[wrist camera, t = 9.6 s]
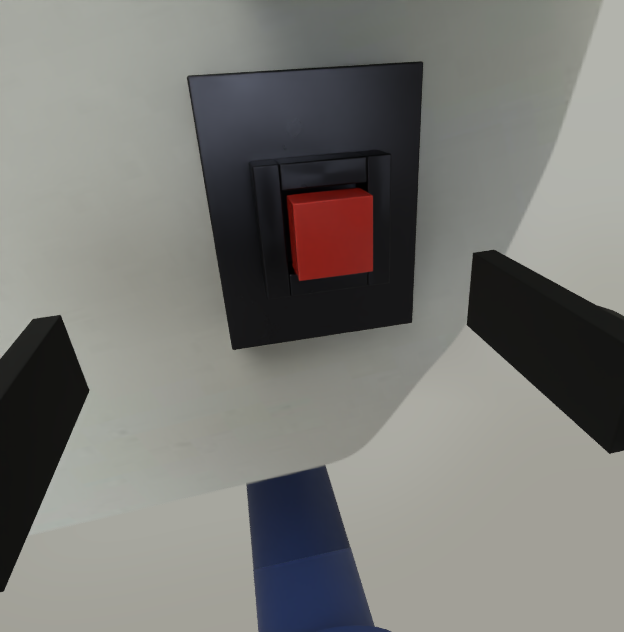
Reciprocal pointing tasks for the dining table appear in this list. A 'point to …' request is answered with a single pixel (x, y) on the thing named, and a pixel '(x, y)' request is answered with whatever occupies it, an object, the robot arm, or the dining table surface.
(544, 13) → the dining table surface
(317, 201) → the button
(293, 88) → the switch base
